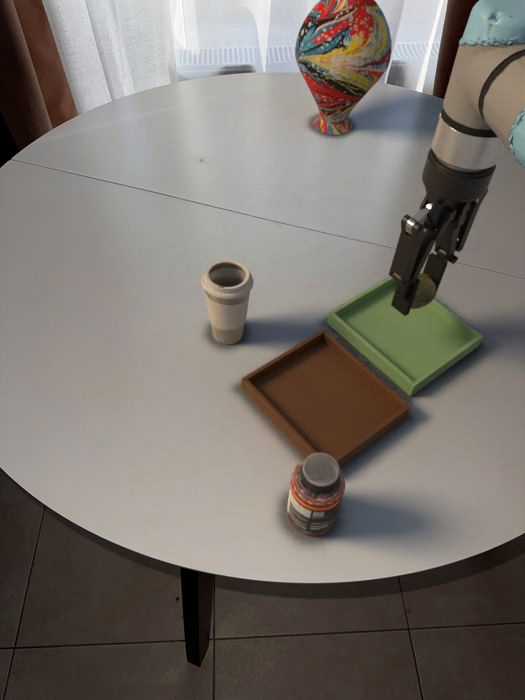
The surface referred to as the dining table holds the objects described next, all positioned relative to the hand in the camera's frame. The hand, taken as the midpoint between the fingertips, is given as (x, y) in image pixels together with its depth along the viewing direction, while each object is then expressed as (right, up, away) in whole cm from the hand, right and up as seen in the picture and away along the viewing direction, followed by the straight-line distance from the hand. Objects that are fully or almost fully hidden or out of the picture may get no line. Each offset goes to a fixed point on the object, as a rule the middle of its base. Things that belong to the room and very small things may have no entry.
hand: (413, 300), depth 82 cm
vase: (-6, +42, +44) cm, 61 cm away
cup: (-27, -5, +5) cm, 27 cm away
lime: (0, 0, 0) cm, 1 cm away
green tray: (0, -5, +6) cm, 7 cm away
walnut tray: (-13, -14, -3) cm, 20 cm away
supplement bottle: (-16, -27, -13) cm, 34 cm away
